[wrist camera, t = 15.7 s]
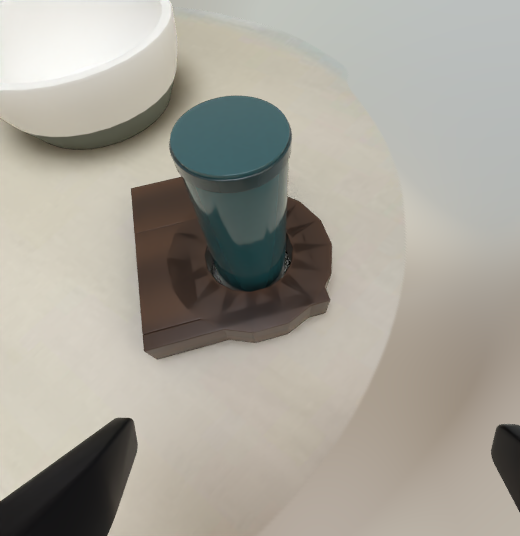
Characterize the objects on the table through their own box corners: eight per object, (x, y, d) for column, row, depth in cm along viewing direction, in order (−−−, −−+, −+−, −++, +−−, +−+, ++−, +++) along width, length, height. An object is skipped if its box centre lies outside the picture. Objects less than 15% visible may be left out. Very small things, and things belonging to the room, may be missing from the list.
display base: (351, 315, 23) (359, 303, 21) (158, 370, 22) (144, 363, 20) (288, 172, 31) (289, 151, 28) (141, 206, 29) (130, 188, 27)
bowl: (80, 45, 45) (42, -30, 38) (220, 64, 41) (207, -17, 33) (-33, 146, 35) (-115, 70, 28) (135, 186, 31) (90, 108, 23)
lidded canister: (256, 312, 24) (236, 198, 12) (202, 273, 26) (141, 142, 14) (299, 260, 26) (316, 120, 14) (246, 227, 28) (223, 81, 16)
